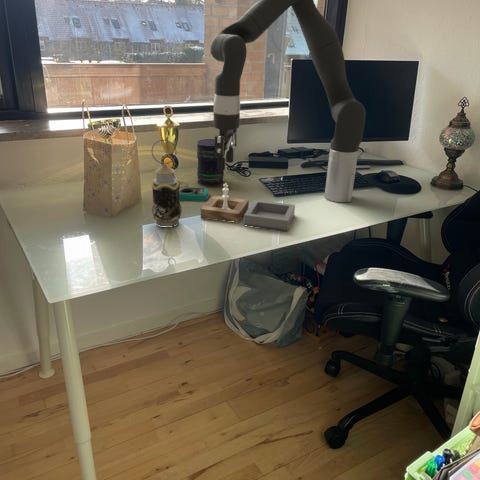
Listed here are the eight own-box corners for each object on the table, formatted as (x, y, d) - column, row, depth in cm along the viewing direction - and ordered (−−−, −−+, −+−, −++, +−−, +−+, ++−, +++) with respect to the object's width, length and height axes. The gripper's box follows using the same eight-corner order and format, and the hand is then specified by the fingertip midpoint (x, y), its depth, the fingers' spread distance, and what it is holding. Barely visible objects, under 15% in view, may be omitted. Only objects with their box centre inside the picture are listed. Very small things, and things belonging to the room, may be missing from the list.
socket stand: (248, 208, 148) (248, 200, 147) (238, 223, 138) (238, 213, 136) (213, 204, 151) (213, 195, 150) (200, 217, 141) (200, 208, 139)
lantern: (151, 229, 132) (145, 143, 121) (153, 218, 139) (148, 136, 129) (181, 228, 133) (179, 143, 122) (182, 217, 140) (180, 136, 129)
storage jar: (195, 178, 174) (194, 139, 168) (220, 177, 176) (221, 138, 170) (199, 187, 166) (199, 146, 159) (226, 185, 168) (226, 145, 161)
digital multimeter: (207, 202, 154) (207, 194, 152) (162, 200, 154) (162, 192, 153) (209, 194, 160) (209, 186, 159) (166, 193, 160) (166, 185, 159)
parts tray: (294, 215, 144) (295, 204, 143) (286, 231, 133) (287, 220, 132) (254, 210, 147) (254, 199, 146) (243, 225, 136) (244, 215, 135)
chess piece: (227, 217, 141) (228, 186, 137) (214, 214, 144) (214, 183, 139) (236, 212, 145) (236, 182, 141) (223, 209, 147) (223, 179, 143)
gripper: (232, 116, 124) (230, 174, 131) (245, 107, 136) (243, 161, 143) (206, 114, 125) (205, 171, 132) (221, 105, 138) (220, 158, 145)
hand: (225, 165), depth 138 cm, fingers open, 8 cm apart
